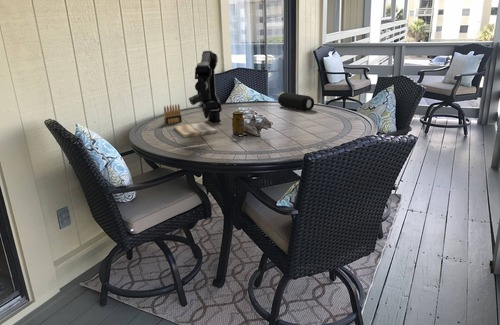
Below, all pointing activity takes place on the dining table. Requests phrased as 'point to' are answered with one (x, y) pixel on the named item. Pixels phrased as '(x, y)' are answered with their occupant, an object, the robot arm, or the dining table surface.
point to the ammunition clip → (172, 115)
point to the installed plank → (186, 131)
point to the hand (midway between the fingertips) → (206, 118)
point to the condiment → (238, 123)
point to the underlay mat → (185, 137)
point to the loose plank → (203, 128)
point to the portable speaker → (296, 101)
